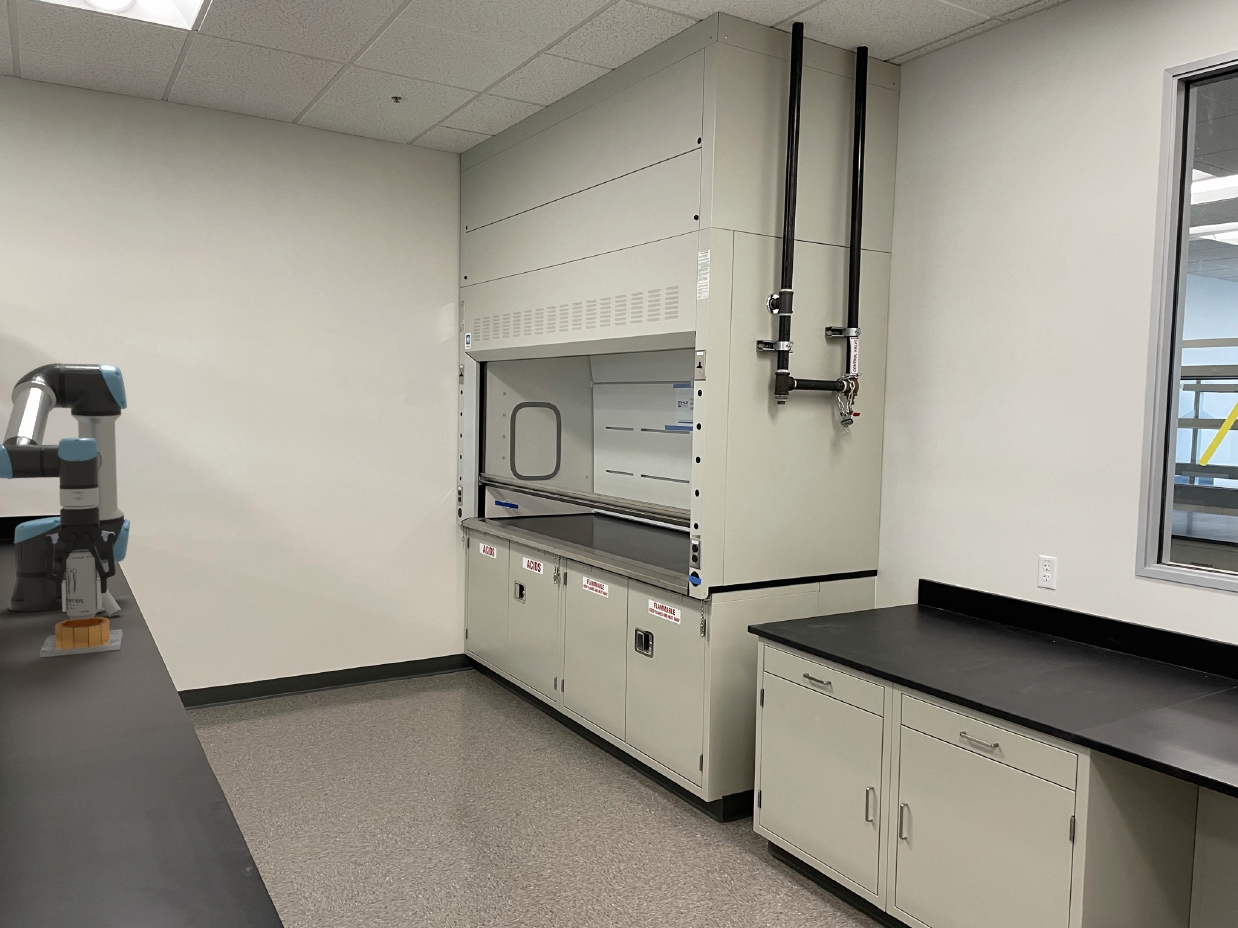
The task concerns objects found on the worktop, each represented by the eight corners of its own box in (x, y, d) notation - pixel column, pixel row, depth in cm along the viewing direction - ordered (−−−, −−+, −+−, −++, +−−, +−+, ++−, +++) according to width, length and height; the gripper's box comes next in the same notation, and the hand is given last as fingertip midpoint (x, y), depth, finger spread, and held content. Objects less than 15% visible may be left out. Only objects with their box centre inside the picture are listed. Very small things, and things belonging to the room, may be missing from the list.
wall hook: (108, 618, 228) (99, 579, 227) (74, 625, 230) (65, 586, 230) (131, 611, 236) (123, 573, 235) (98, 618, 238) (90, 580, 238)
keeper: (47, 640, 208) (47, 618, 208) (122, 634, 215) (121, 612, 214) (40, 657, 195) (39, 633, 194) (119, 649, 201) (119, 626, 201)
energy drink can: (60, 618, 202) (58, 552, 201) (85, 612, 208) (83, 548, 207) (80, 621, 200) (78, 554, 199) (104, 615, 206) (102, 550, 205)
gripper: (27, 510, 195) (30, 616, 196) (127, 507, 203) (129, 608, 205) (31, 506, 202) (34, 609, 203) (128, 503, 210) (130, 601, 212)
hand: (82, 608), depth 204 cm, fingers closed on energy drink can, 6 cm apart
